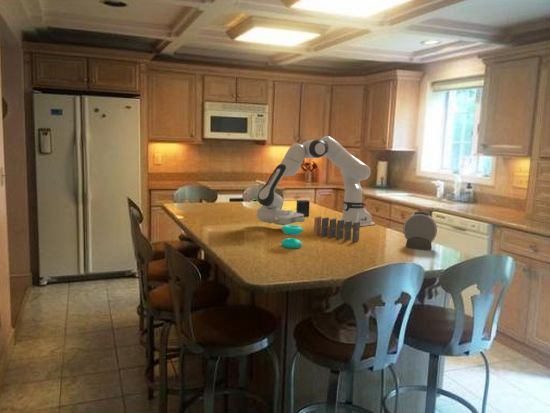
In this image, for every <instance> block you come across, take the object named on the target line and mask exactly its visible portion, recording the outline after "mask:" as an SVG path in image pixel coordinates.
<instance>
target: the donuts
mask: <svg viewBox="0 0 550 413" xmlns="http://www.w3.org/2000/svg"><path fill="white" fill-rule="evenodd" d="M303 230H304V229H303V228H302V226H300V225H296V224H287V225H282V227H281V231H282V232H283V233H284V234H286V235H291V236H292V235H293V236H294V235H300V234H302V233H303ZM280 244H281V247H283V248H285V249H293V250H294V249H299V248H301V247H302V246H303V243H302V241H301V240H299V239H298V238H291V237H287V238H284V239H283V240H281V242H280Z"/></svg>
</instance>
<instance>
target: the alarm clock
mask: <svg viewBox="0 0 550 413" xmlns="http://www.w3.org/2000/svg"><path fill="white" fill-rule="evenodd" d="M402 230H403V231H402V232H403V235H404V238H405V239H406V243H405V247H404V248H406V249H412V250H419V251H432V247H433V246H432V242H433V241H434V240H435V239H436V237H437V233H438V225H437V222H436V220H435V219H434V218H433V217H432V216H431V215H429V213H428V212H425V211H420V210H419V211H415V212H414V213H413V214H411V215H410V216H409V217H408V218H407V219H406V220H405V222H404V223H403V227H402Z"/></svg>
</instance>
